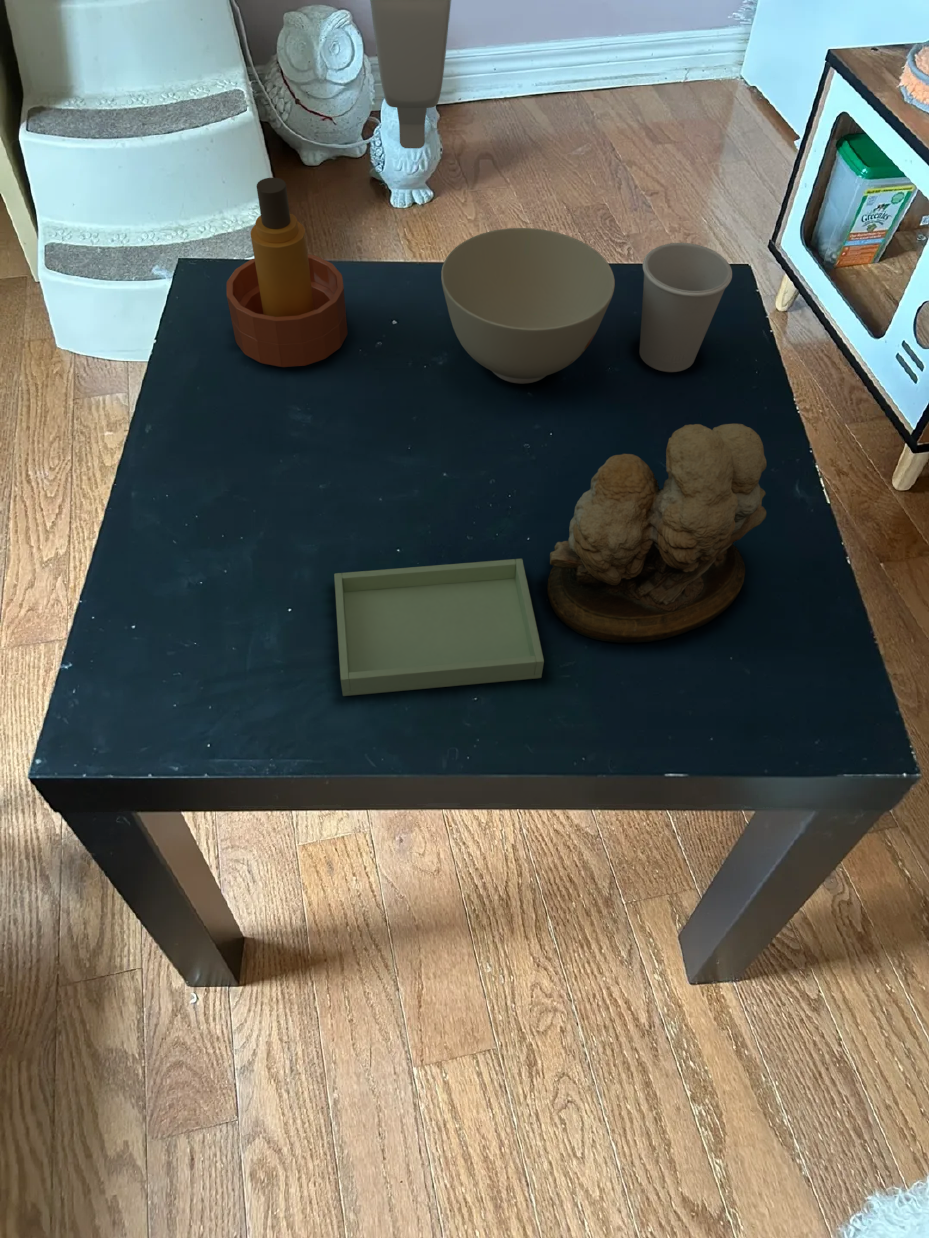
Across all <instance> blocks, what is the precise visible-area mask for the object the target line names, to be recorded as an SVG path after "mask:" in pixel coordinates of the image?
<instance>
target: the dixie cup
mask: <svg viewBox="0 0 929 1238" xmlns="http://www.w3.org/2000/svg"><path fill="white" fill-rule="evenodd" d="M642 270H643V290H642V304H641V305H642V306H641V318H640V319H641V321H640V338H639V351H638V352H639V356H640V358H641V360H642V361H643V362H644V363H645V364H646V365H647V366H649V367H651V368H652V369H655V370H656V371H657V370H658V371H661V372H665V373H677V372H682V371H685V370H687V369H688V368H690V367H691V366H692V365H693V364H694V362H695V360H696V359H697V358H696V357H697V355H698V353H699V351H700V348H701V346H702V344H703V341H704V340H705V339H704V338H705V337H706V334H707V332H708V329H709V328H710V324H711V322H712V320H713V318H714V315H715V313H716V311H717V308H718V306H719V304H720V301H721V300H722V297H723V295H724V292H725V290H726V289H727V287H728V286H729V285H730V283H731V281H732V279H733V269H732V266H731V264H730V263H729V262H728V261H727V259H726V258H725V257H724V256H723V255H721V254H720V253H719V252H717V251H715V250H713V249H711V248H709V247H707V246H703V245H700V244H697V243H690V242H671V243H665V244H662V245H659V246H657V247H655V248H653V249H651V250H650V251H649V252H647V254H646V255H645V257H644V258H643V261H642Z"/></svg>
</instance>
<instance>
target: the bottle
mask: <svg viewBox="0 0 929 1238" xmlns="http://www.w3.org/2000/svg"><path fill="white" fill-rule="evenodd" d="M256 192H257V198H258V205H259V212H260V215H259V216H258V217H257V218H256V219H255V224H254V225H253V226H252V228H251V230H250V239H251V240H250V241H251V246H252V252H253V259H255V265H256V271H257V277H258V283H259V289H260V296H261V302H262V308H263V314H264V315H268V316H273V317H284V316H298V315H301V314H305V313H308V312H311V311H314V305H313V296H312V287H311V279H310V270H309V261H308V254H309V253H308V252H309V251H308V246H307V245H308V244H307V237H306V229H305V227H304V225H303V224H302V223H301V222H299V221H298V218H297V217H296V216H295V215H294V214H293V213H291V212H290V205H289V197H288V189H287V183H286V182H285V180H283V179H282V178H278V177H266V178H262V179H260V180H259V181H258V182H257V183H256Z"/></svg>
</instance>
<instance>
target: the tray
mask: <svg viewBox="0 0 929 1238" xmlns="http://www.w3.org/2000/svg"><path fill="white" fill-rule="evenodd" d="M333 575H334V592H335V609H336V610H335V611H336V627H337V642H338V644H337V645H338V658H339V675H340V676H339V677H340V686H341V693H342V697H349V696H359V695H371V694H381V693H382V694H383V693H392V692H394V693H395V692H403V691H414V690H425V689H436V688H445V687H447V688H448V687H458V686H468V685H479V684H490V683H491V684H492V683H500V682H512V681H513V682H514V681H523V680H532V679H533V680H534V679H541V678H542V676H543V669H544V663H545V658H544V655H543V649H542V645H541V644H542V643H541V640H540V635H539V631H538V626H537V621H536V616H535V612H534V607H533V602H532V597H531V593H530V587H529V584H528V578H527V575H526V570H525V565H524V560H523V558H511V559H500V560H499V559H497V560H487V561H476V562H475V561H474V562H473V561H472V562H462V563H450V564H436V565H425V566H412V567H401V568H398V567H397V568H387V569H385V568H384V569H374V570H373V569H372V570H363V571H348V572H337V573H333Z"/></svg>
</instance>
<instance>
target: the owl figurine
mask: <svg viewBox="0 0 929 1238" xmlns="http://www.w3.org/2000/svg"><path fill="white" fill-rule="evenodd" d="M763 444H764V443H763V441H762V439H761V437H760V435H759V434H758V433H757V432H756V431H755V430H754V429H753V428H751V427H748V426H746V425H745V424H742V423H723V424H721V425H718V426H715V427H713V428H712V429H711V428H709V427H707V426H705V425H702V424H700V423H694V424H685V425H684V426H682V427H680V428H677V429H676V430H674V431H673V432H672V433H671V437H669V438H668V442H667V445H666V449H665V450H666V451H665V454H666V455H665V457H666V459H665V460H666V461H665V462H666V463H665V467H666V473H667V474H668V475H667V476H668V478H667V479H665V480H664V482H663V486H662V488H660V486H659V482H658V479H657V478H655V473H654V472H653V471H652V469H651V467H650V466H649V465H648V464H647V463H646V462H645V461H644V460H643V459H642V458H640V457H639V456H638V455H635V454H632V453H622V454H615V455H612V456H610V457H609V458H608V459H606V460H605V462H604V464H602V465H601V466H600V467H599V468H598V469H597V472H596V473H595V474H594V475H593V476H592V477H591V480H590V488H589V490H587V491H585V492H583V493H582V495H581V496H580V498H579V499H578V500H577V502H576V504H575V506H574V513H573V517H572V518H571V520H570V522H569V526H568V527H569V528H568V529H569V530H568V531H569V532H568V533H569V537H568V540H563V541H557V542H556V543H555V545H554V550H553V551H551V552H550V553H549V565H550V566H552V568H551V570H550V571H549V575H548V579H547V587H546V592H547V594H546V595H547V598H548V602H549V603H550V605H549V606H551V609H552V610H553V612H554V613H555V616H557V617H558V618H559V620H560V621H561V623H563V624H565V625H566V626H567V627H568V628H570V629H571V630H573V631H574V632H575V633H577V634H579V635H582V636H583V637H587V638H590V639H592V640H598V641H602V642H612V643H620V644H622V643H625V644H627V643H650V642H655V641H656V642H657V641H661V640H666V639H669V638H672V637H676V636H679V635H682V634H686V633H687V632H690V631H692V630H696V629H699V628H700V627H703V626H704V625H707V624H708V623H710V622H711V621H713V620H714V619H716V618H717V617H718V616H720V615H721V614H723V612H725V610H727V609H728V608H729V607H730V606H731V605H732V604H733V602H734V601H735V600H736V599H737V597H738V596H739V594H740V591H741V590H742V587H743V585H744V583H745V577H746V566H745V562H744V559H743V556H742V554H741V552H740V551H739V549H738V548H737V546H736V545H734V542H738V541H740V540H741V539H742V538H743V537H744V536H745V535H746V534H748V532H751V530H753V529H754V528H756V527H758V526H760V525H761V524H762V523H763V521H764V520H766V517H767V514H768V513H767V510H766V509H765V507H764V506H762V503H763V502H762V501H763V498H764V497H765V496H766V494H767V493H766V491H765V490H764V489H763V488H762V487H761V486H760V484H759V483H760V482H759V481H760V479H761V476H762V473H763V472H764V471H765V470H766V468H767V459H766V456H765V449H764V445H763Z"/></svg>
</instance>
